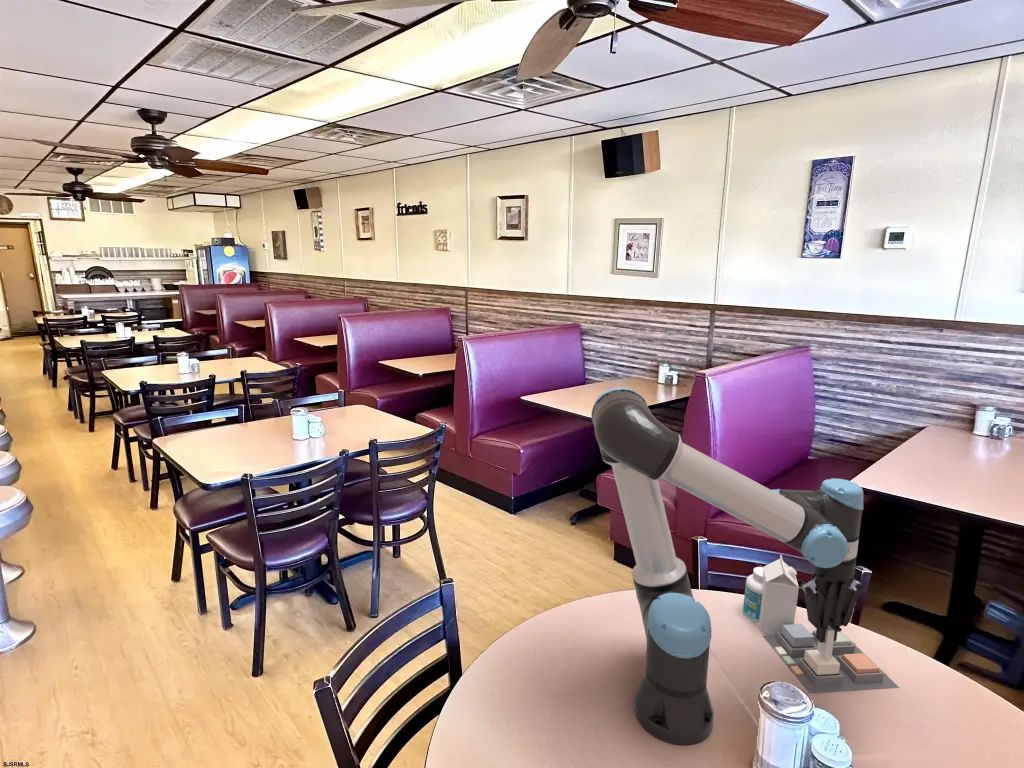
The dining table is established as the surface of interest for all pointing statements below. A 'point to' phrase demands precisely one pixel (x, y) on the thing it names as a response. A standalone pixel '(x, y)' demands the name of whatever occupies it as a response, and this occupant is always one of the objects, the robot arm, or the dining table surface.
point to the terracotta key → (860, 663)
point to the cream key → (821, 663)
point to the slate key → (797, 635)
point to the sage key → (841, 640)
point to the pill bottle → (753, 595)
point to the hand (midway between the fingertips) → (824, 653)
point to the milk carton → (778, 597)
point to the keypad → (827, 682)
